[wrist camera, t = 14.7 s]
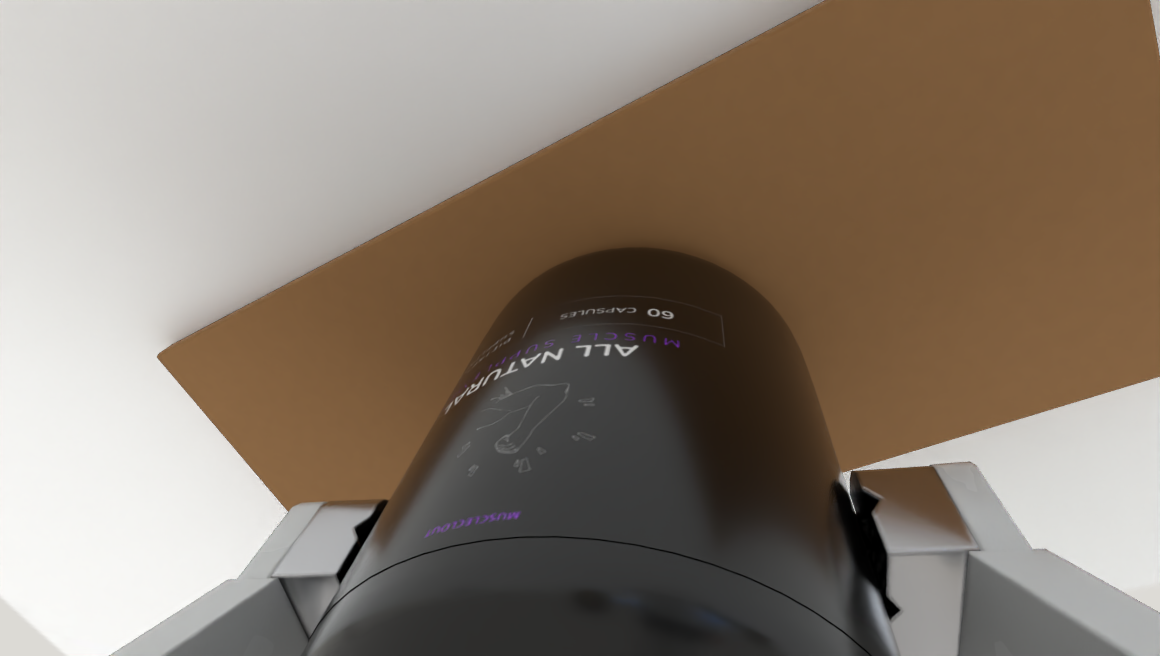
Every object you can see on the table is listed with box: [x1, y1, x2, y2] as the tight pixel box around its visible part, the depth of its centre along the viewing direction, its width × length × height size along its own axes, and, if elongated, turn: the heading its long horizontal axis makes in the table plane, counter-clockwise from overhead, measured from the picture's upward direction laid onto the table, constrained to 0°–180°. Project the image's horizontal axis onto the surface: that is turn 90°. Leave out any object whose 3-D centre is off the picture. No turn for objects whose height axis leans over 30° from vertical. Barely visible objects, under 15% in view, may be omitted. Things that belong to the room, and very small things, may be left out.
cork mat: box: [157, 0, 1160, 512], centre depth 14 cm, size 20×9×1 cm, turn 118°
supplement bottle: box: [301, 247, 901, 656], centre depth 9 cm, size 7×7×12 cm
